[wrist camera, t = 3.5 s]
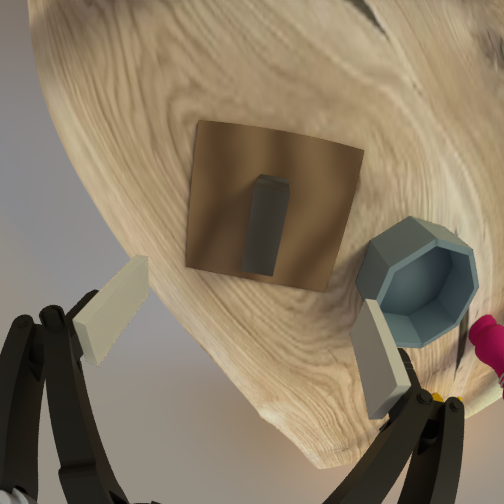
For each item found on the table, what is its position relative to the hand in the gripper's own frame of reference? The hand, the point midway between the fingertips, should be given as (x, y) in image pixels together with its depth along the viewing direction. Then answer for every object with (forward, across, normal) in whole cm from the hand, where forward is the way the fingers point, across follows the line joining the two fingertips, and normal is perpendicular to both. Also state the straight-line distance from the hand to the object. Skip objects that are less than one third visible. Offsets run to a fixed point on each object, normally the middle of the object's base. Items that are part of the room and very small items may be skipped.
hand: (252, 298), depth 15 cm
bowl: (+17, +20, -4) cm, 26 cm away
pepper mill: (+17, +43, -12) cm, 48 cm away
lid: (+17, 0, 0) cm, 17 cm away
